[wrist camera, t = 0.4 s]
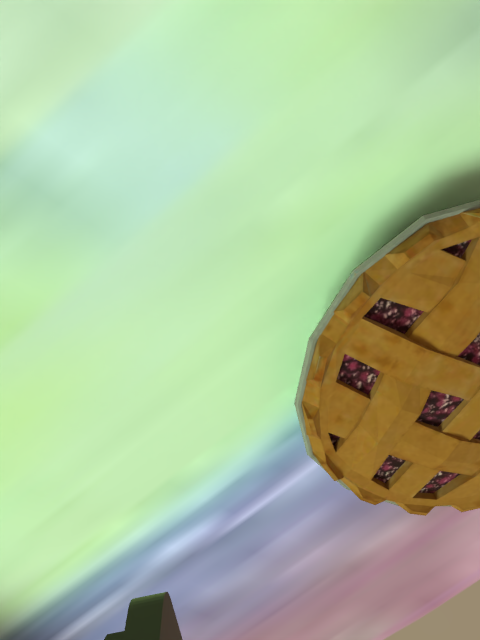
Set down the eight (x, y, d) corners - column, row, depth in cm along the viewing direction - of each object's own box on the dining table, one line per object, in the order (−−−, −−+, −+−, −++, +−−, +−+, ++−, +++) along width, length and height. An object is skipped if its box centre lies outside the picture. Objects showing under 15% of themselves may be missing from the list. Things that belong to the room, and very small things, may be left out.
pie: (243, 448, 32) (252, 506, 27) (371, 129, 23) (414, 137, 19) (497, 491, 37) (540, 546, 32) (684, 241, 28) (777, 269, 23)
